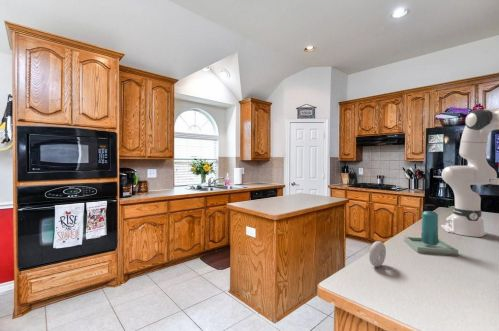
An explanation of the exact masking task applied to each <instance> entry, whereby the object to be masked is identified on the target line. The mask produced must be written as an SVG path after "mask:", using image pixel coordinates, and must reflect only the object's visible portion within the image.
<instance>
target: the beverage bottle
mask: <svg viewBox="0 0 499 331" xmlns="http://www.w3.org/2000/svg"><path fill="white" fill-rule="evenodd" d="M424 209H425V210H424V211H422V213H421V214H422V215H421V237H420V238H422V239H421V240H422V242H423V243H425V244H429V245H437V244H438V239H439V214H438V213H437V212H436V211H434V210H436V205H435V204H429V203H427V204H424ZM431 210H432V211H431Z"/></svg>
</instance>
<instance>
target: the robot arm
mask: <svg viewBox="0 0 499 331" xmlns="http://www.w3.org/2000/svg"><path fill="white" fill-rule="evenodd" d="M464 124H465V126H464V128H463V131H462V134H461V138H460V145H459V150H458V153H459V156H460V157H461V158H463V159H464V160H466V161H467V165H451V166H446V167H444V168H443V170H442V171H441V179H442V180H443V181H444V183H446V184H447V185H449V187H450V188H451V189H452V191H453V192H452V193H453V195H454V207H453V209H452V213H451V214H450V215H449V216H447V217H446V218H445V219H444V223H445V224H441V225H440V227H441V228H442V229H443V230H444V231H446V232H448V233H452V234H456V235H460V236H465V237H476V238H478V237H481V238H482V237H484V236H486V235H487V232H485V225H484V224H485V223H484V219H482V210H481V201H482V197H481V196H480V195H479V193H477V192H475V191H473V190H472V187H471V186H484V185H489V184H491V185H495V186H496V185H497V186H499V177H498V173H497V171H496V170H495V168H493V167H492V166H490V164H489V163H488V160H487V147H488V140H489V136H490V135H489V134H491V132H492V131H496V132H499V107H492V108H484V109H482V108H479V109H478V108H477V109H474V110H471V111H469V112H468V113H467V114H466V116H465V118H464Z"/></svg>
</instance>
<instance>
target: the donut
mask: <svg viewBox="0 0 499 331" xmlns="http://www.w3.org/2000/svg"><path fill="white" fill-rule="evenodd" d="M386 255H387V249H386V245H385V243H383V242H382V241H380V240H376V241H374V242H373V243H372V245H371V246H370V249H369V255H368V257H369V262H370V264H371V265H372V266H373V267H376V268H379V267H381V266H382V265H383V264H384V262H385V259H386Z"/></svg>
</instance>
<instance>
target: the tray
mask: <svg viewBox="0 0 499 331" xmlns="http://www.w3.org/2000/svg"><path fill="white" fill-rule="evenodd" d="M421 239H422V238H421V237H416V236H404V238H403V242H405V243H406V244H407V246H409V247H410V248H411V249H412V250H414V252H416V253H418V254H428V255H429V254H430V255H441V256H442V255H443V256H455V257H458V256H459V249H457V248H455V247H454V246H452V245H451V244H449V243H447V242H446V241H444V240H443V239H441V238H438V244H437V245H429V244H425V243H423V242H422V240H421Z"/></svg>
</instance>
